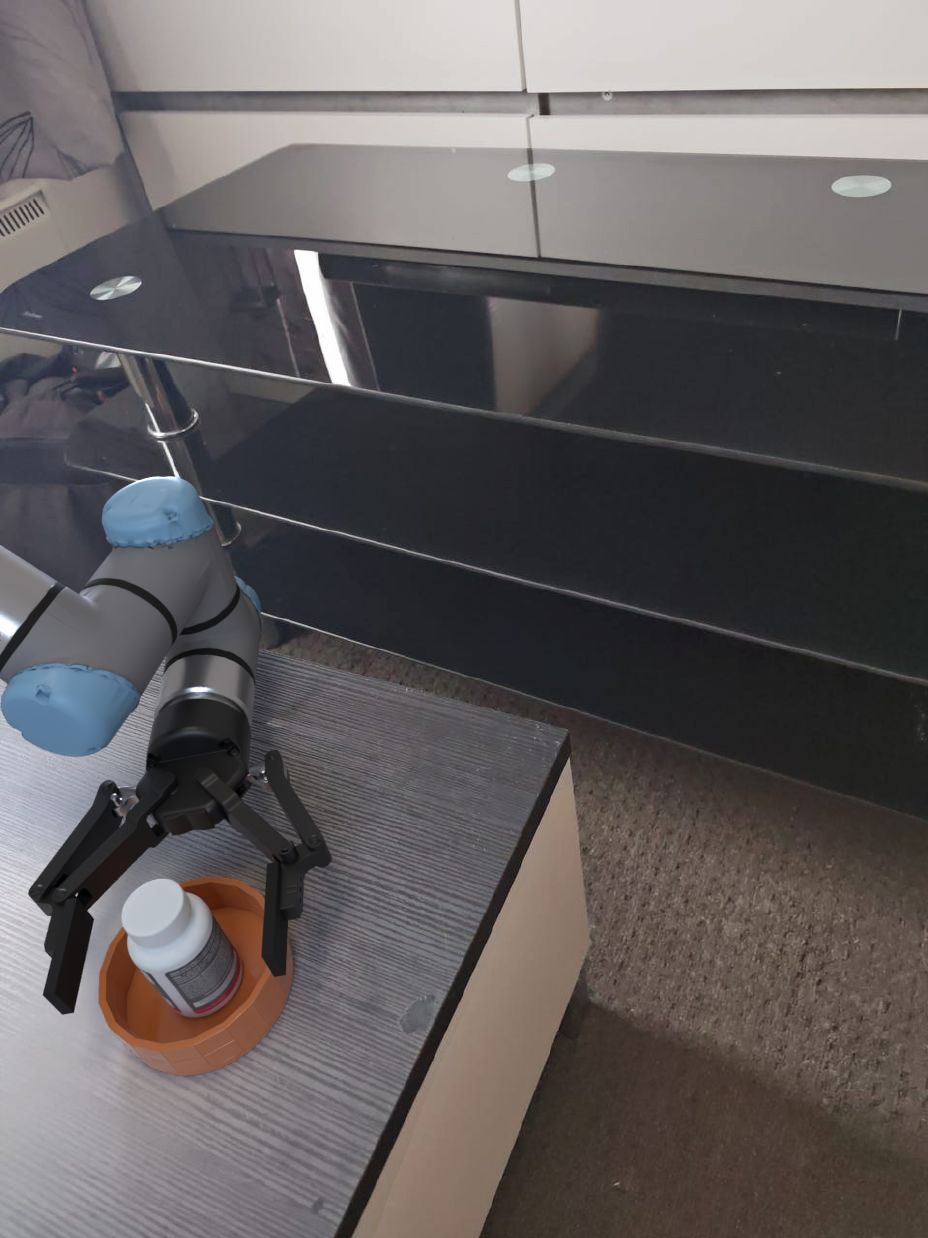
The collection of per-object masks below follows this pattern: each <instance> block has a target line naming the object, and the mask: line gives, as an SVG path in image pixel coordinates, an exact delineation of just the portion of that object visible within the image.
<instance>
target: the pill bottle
mask: <svg viewBox="0 0 928 1238" xmlns="http://www.w3.org/2000/svg"><path fill="white" fill-rule="evenodd" d="M179 884H180V883H178V882H176V880H173V879H169V878H156V879H155V878H154V879H152V880H149V881H146V882H145V883H143V884H142V885H140V886H139V887H137V888H136V889H134V891H132V893H131V894H130V895H129V896H128V898H126V900H125V902H124V905H123V906H122V909H121V914H120V922H121V925H122V927H123V928H124V929H125V931H126V932H127V934H128V938H127V947H128V952H129V955H130V957H131V959H132V960H133V962H134V963H135V965H136V966H137V967H138V968H139V969H140V971H141V972H142V973H143V974H144V975H145V977H146V978H147V979H148V980H149V982H150V983H151V984H152V985H153V986H154V988H155V989H156V990H157V991H158V992H159V994H160V995H161V996H162V997H163V999H164V1000H165V1001H166V1002H167V1003H168V1004H169V1005H170V1007H171V1008H172V1009H173V1010H174V1011H175V1012H177V1013H178V1014H180V1015H182V1016H185V1017H190V1018H196V1017H203V1016H207V1015H210V1014H212V1013H214V1012H215V1011H217V1010H219V1009H220V1008H222V1007H223V1006H224V1005H226V1004H227V1003H228V1002H229V1001H230V1000H231V998H232V997H233V996H234V994H235V993H236V991H237V989H238V988H239V985H240V982H241V979H242V973H243V967H242V961H241V958H240V956H239V954H238V952H237V951H236V949H235V947H234V946H233V945H232V943H231V942H230V940H229V939H228V937H227V936H226V934H225V932H224V931H223V929H222V928H221V926H220V924H219V923H218V922H217V920H216V919H215V917H214V915H213V914H212V912H211V910H210V909H209V907H208V906H207V905H206V903H205V902H204V901H203V900H202V899H201V898H199V897H198V896H196V895H194V894H191V893H188V892H185V891H184V890H183V889H182V888H181V886H180V885H179Z"/></svg>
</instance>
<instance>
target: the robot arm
mask: <svg viewBox="0 0 928 1238" xmlns="http://www.w3.org/2000/svg"><path fill="white" fill-rule="evenodd" d="M101 525H102V527H103V530H104V533H105V539H106V541H107V542H108V544H110V546H111V547H112V549H111V551H110V553H109V554H108V555H107V556H106V558H105V559H104V561H103V562H102V563H101V564H100V566H99V567H98V568H97V570H95V572H94V573H93V575H92V576H91V577H90V578H89V580H88V581H87V582H86V584H85V585H84V587H83V588H82V589H81V590H80V591H79V593H78V592H76V591H75V590H73V589H71V588H69V587H68V586H66V585H64V584H62V583H61V582H60V581H58V580H56V579H55V578H53V577H51V576H49V575H48V574H47V573H46V572H44V571H42V570H40V569H39V568H38V567H36V566H34V565H32V564H31V562H28V561H26V560H25V559H24V558H22V557H21V556H19V555H17V554H16V553H14V552H13V551H11V550H9V549H8V548H6V547H5V546H3V545H1V544H0V680H1V681H3V682H4V683H5V684H6V686H5V689H4V690H3V692H2V695H1V696H0V710H1V713H2V715H3V717H4V719H5V721H6V722H7V724H8V725H9V727H11V728H12V729H15V730H17V731H19V732H20V733H21V736H22V738H23V739H24V740H25V741H26V742H28V743H30V744H32V745H34V746H35V747H38V748H39V749H41V750H43V751H46V752H49V753H52V754H54V755H58V756H63V757H71V758H81V757H88V756H91V755H94V754H97V753H98V752H100V751H101V750H103V749H106V748H107V747H108V746H109V745H110V743H111V742H112V740H113V739H114V738H115V736H116V735H117V733H118V732H119V731H120V729H121V728H122V726H123V725H124V723H125V722H126V721H127V719H128V717H129V716H130V715H131V714H132V713H134V712H135V711H136V710H137V708H138V707H139V705H140V701H141V698H142V696H143V694H144V693H145V691H146V689H147V687H148V686H149V684H150V683H151V681H152V680H153V678H154V676H155V675H156V674H157V671H158V670H159V667H160V666H161V665H162V663H163V662H164V666H163V672H162V676H161V681H160V686H159V691H158V694H157V696H158V697H157V699H156V704H155V709H154V714H153V721H152V725H151V726H152V727H151V730H150V735H149V739H148V745H147V750H146V757H145V772H144V773H143V776H142V777H141V779H140V780H139V781H138V782H137V784H135V785H124V786H118V785H117V784H116V782H115V780H113V779H107V780H104V781H102V782H101V783H100V784H99V786H98V788H97V791H96V794H95V797H94V800H93V803H92V805H91V807H90V808H89V809H88V810H87V812H86V813H85V815H84V816H83V817H82V819H81V820H80V821H79V823H78V824H77V825H76V826H75V828H74V829H73V830H72V831H71V833H70V834H69V836H68V837H67V838H66V839H65V841H64V843H63V844H62V845H61V846H60V848H59V849H58V850H57V851H56V853H55V854H54V855H53V857H52V858H51V860H50V861H49V862H48V864H47V865H46V866H45V868H44V869H43V870H42V871H41V873H40V874H39V875H38V876H37V878H36V879H35V881H34V882H33V884H31V886H30V887H29V889H28V890H27V891H28V894H27V895H28V897H29V898H30V899H31V900H32V901H33V903H35V905H36V906H37V907H38V908H39V909H40V910H41V911H42V913H44V915H45V916H47V917H50V919H49V923H48V928H47V931H46V935H45V939H44V942H43V947H44V952H45V953H46V954H47V955H48V956H49V958H50V963H49V967H48V971H47V975H46V979H45V984H44V988H43V992H42V997H44V999H46V1000H47V1002H48V1003H50V1004H51V1006H53V1007H54V1008H55V1010H56V1011H58V1012H59V1014H61V1016H65V1015H70V1014H74V1013H75V1010H76V1005H77V1002H78V995H79V992H80V986H81V982H82V977H83V973H84V969H85V964H86V961H87V960H86V958H87V955H88V950H89V945H90V941H91V935H92V932H93V926H94V922H95V918H94V916H93V915H91V913H90V912H89V910H90V909H91V908H92V907H93V906H94V905H95V904H96V903H97V902H98V901H99V900H100V899H101V898H102V896H103V895H104V894H105V893H107V891H108V890H109V889H110V888H111V887H112V886H113V885H115V883H116V882H117V881H118V880H119V879H120V878H121V877H122V876H123V875H124V874H125V873H126V872H127V871H128V870H129V869H130V868H131V867H132V866H133V865H134V864H135V863H136V862H137V861H138V860H139V859H140V858H141V857H142V856H143V854H145V852H147V850H149V849H150V848H152V849H154V848H157V847H158V846H159V845H160V844H161V843H162V842H163V841H164V840H165V838H167V837H168V836H169V835H170V834H171V836H172V837H176V836H181V835H185V834H187V833H190V832H192V831H207V830H213V829H216V826H217V825H218V824H220V823H222V822H223V821H225V822H226V824H228V825H229V826H230V827H231V828H233V829H234V830H235V832H237V833H240V834H241V835H242V836H243V837H244V838H245V839H247V840H248V841H249V842H250V843H251V844H252V845H253V846H254V847H256V849H258V850H259V851H260V852H261V853H262V854H263V855H264V856H265V857H266V858H267V859H269V860H270V862H269V863H266V872H265V873H266V875H265V891H264V898H265V904H264V920H263V935H262V951H261V957H262V958H263V960H264V961H265V963H266V965H267V966H268V968H269V970H270V971H271V973H272V974H273V976H274V977H278V976H283V975H286V962H287V938H289V933H288V931H289V921H293V920H298V919H301V917H302V914H303V912H304V893H305V892H304V891H305V889H304V888H305V876H306V874H307V873H308V872H309V871H310V870H312V869H315V868H316V867H318V868H326V867H328V866H329V865H331V863H332V861H333V857H332V853H331V852H330V849H329V846H328V845H327V843H326V839H325V838H324V835H323V833H322V832H321V830H320V829H319V827H318V826H317V824H316V823H315V821H314V819H313V818H312V816H311V815H310V813H309V812H308V810H307V808H306V807H305V806H304V804H303V802H302V801H301V799H300V797H299V796H298V795H297V793H296V791H295V790H294V788H293V786H292V784H291V777H290V772H289V770H288V767H287V765H286V763H285V760H284V758H283V756H282V754H281V752H280V751H279V750H277V749H271V750H269V751H267V752H266V753H265V754H264V760H263V761H258V762H256V763H251V764H249V763H250V753H251V740H252V727H253V715H254V707H255V694H256V679H257V672H258V662H259V653H260V644H261V640H262V638H263V633H262V631H263V629H264V627H263V620H262V605H261V601H260V599H259V596H258V594H257V592H256V591H255V589H253V587H252V586H250V585H248V584H247V583H246V582H245V581H244V580H243V579H242V578H241V577H238V576H237V575H236V576H235V574H234V572H233V570H232V567H231V565H230V562H229V559H228V556H227V555H226V552H225V549H224V547H223V545H222V541H221V539H220V537H219V534H218V531H217V529H216V526H215V521H214V519H213V517H211V516H210V515H209V513H208V511H207V509H206V507H205V505H204V502H203V500H202V498H201V496H200V495H199V492H198V490H197V489H196V487H195V486H194V485H193V484H192V483H190V482H189V481H187V480H186V479H183V478H180V477H176V476H152V477H146V478H142V479H140V480H137V481H134V482H132V483H130V484H128V485H126V486H124V487H123V488H121V489H119V490H118V491H116V492H115V493H113V495H112V496H110V498H109V499H108V500H107V501H106V502H105V504H104V506H103V508H102V516H101ZM164 659H165V660H164ZM253 783H256V784H259V785H260V788H261V789H263V791H267V792H268V793H273V795H274V797H275V800H276V801H277V803H278V805H279V807H280V808H281V810H282V811H283V813H284V815H285V817H286V819H287V820H288V821H289V823H290V825H291V826H292V828H293V830H294V832H295V833H296V835H297V836H298V838H299V839H300V841H301V843H299V844H297V845H295V844H294V841H293V840H290V841H289V839H287V838H285V837H284V836H283V835H282V834H281V833H280V832H279V831H278V830H277V829H276V828H274V827H273V826H272V825H271V824H269V822H267V821H266V820H265V819H264V818H263V817H262V816H261V815H260V814H259V813H258V812H256V811H255V810H254V809H253V808H252V807H250V806H249V804H247V803H246V802H245V801H243V797H245V796H246V794H247V793H248V792H249V790H250V789H251V787H252V786H253ZM148 817H150V818H151V819H152V820H153V821H154V824H153V826H150V824H149V822H148ZM123 819H124V822H123Z"/></svg>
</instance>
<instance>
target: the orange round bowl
mask: <svg viewBox="0 0 928 1238" xmlns="http://www.w3.org/2000/svg"><path fill="white" fill-rule="evenodd" d="M178 884H179V885H180V886H181V888H182V889H183V890H184V891H185V892H188V893H191V894H194V895H196V896H198V897H199V898H201V899H202V900H203V901H204V902H205V903H206V905H207V906H208V907H209V909H210V910H211V912H212V914H213V915H214V917H215V919H216V920H217V922H218V923H219V924H220V926H221V928H222V929H223V931H224V932H225V934H226V936H227V937H228V939H229V940H230V942H231V943H232V945H233V946H234V947H235V949H236V951H237V952H238V954H239V956H240V958H241V961H242V967H243V973H242V979H241V982H240V985H239V988H238V989H237V991H236V993H235V994H234V996H233V997H232V998H231V1000H230V1001H229V1002H228V1003H227V1004H226V1005H224V1006H223V1007H222V1008H220V1009H219V1010H217V1011H215V1012H214V1013H212V1014H210V1015H207V1016H203V1017H196V1018H190V1017H185V1016H182V1015H180V1014H178V1013H177V1012H175V1011H174V1010H173V1009H172V1008H171V1007H170V1005H169V1004H168V1003H167V1002H166V1001H165V1000H164V999H163V997H162V996H161V995H160V994H159V992H158V991H157V990H156V989H155V988H154V986H153V985H152V984H151V983H150V982H149V980H148V979H147V978H146V977H145V975H144V974H143V973H142V972H141V971H140V969H139V968H138V967H137V966H136V965H135V963H134V962H133V960H132V959H131V957H130V955H129V952H128V947H127V938H128V934H127V932H126V931H125V929H124V928H123V926H122V927H121V928H120V930H119V931H117V933H116V935H115V936H114V937H113V939H112V940H111V941H110V944H109V946H108V948H107V951H106V954H105V956H104V959H103V962H102V965H101V967H100V969H99V973H98V1002H97V1003H98V1006H99V1008H100V1010H101V1013H102V1015H103V1017H104V1020H105V1022H106V1024H107V1027H108V1029H109V1030H110V1031H111V1033H113V1034H114V1036H116V1037H117V1039H118V1040H119V1041H120V1042H121V1043H122V1044H123V1045H124V1046H125V1047H126V1048H127V1049H128V1050H129V1051H130V1052H131V1053H132V1054H134V1055H135V1056H136V1057H137V1058H138V1059H139V1060H140V1061H142V1062H143V1063H144V1064H145V1065H147V1066H148V1067H150V1068H152V1069H153V1070H155V1071H158V1072H160V1073H163V1074H168V1075H172V1076H184V1077H186V1076H187V1077H188V1076H197V1075H202V1074H206V1073H211V1072H214V1071H216V1070H218V1069H219V1070H220V1069H222V1068H224V1067H226V1066H228V1065H230V1064H232V1063H234V1062H235V1061H237V1060H239V1059H240V1058H241V1057H243V1056H244V1055H246V1054H248V1052H250V1051H251V1050H252V1049H254V1047H256V1046H257V1045H258V1044H259V1043H260V1042H261V1041H262V1040H263V1039H264V1038H265V1037H266V1036H267V1034H268V1033H269V1032H270V1030H271V1029H273V1027H274V1025H275V1024H276V1022H277V1021H278V1019H279V1018H280V1016H281V1014H282V1012H283V1010H284V1009H285V1006H286V1004H287V1002H288V1000H289V995H290V993H291V989H292V985H293V981H294V971H295V965H294V954H293V949H292V945H291V943H290V939H289V937H288V938H287V962H286V975H283V976H278V977H274V976H273V974H272V973H271V971H270V970H269V968H268V966H267V965H266V963H265V961H264V960H263V958H262V957H261V951H262V935H263V920H264V904H265V895H263V893H262V892H261V891H259V890H258V889H256V888H254V887H253V886H251V885H249V884H248V883H246V882H244V881H242V880H241V879H236V878H229V877H223V876H216V875H212V876H205V877H200V878H194V879H188V880H185V881H181V882H179V883H178Z"/></svg>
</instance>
